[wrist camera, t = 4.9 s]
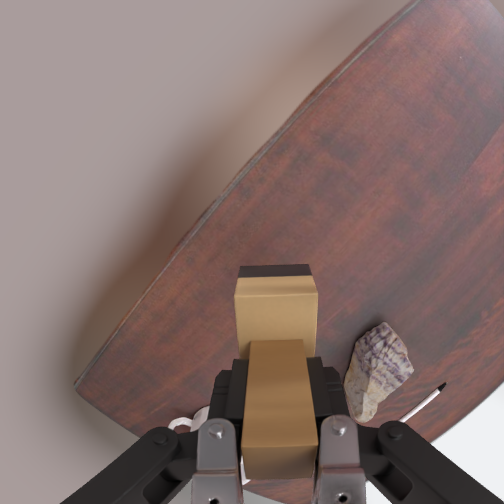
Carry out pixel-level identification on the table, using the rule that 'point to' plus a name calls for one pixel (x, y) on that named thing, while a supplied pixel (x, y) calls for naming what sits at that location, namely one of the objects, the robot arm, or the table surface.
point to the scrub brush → (277, 369)
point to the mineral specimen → (375, 370)
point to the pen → (422, 403)
